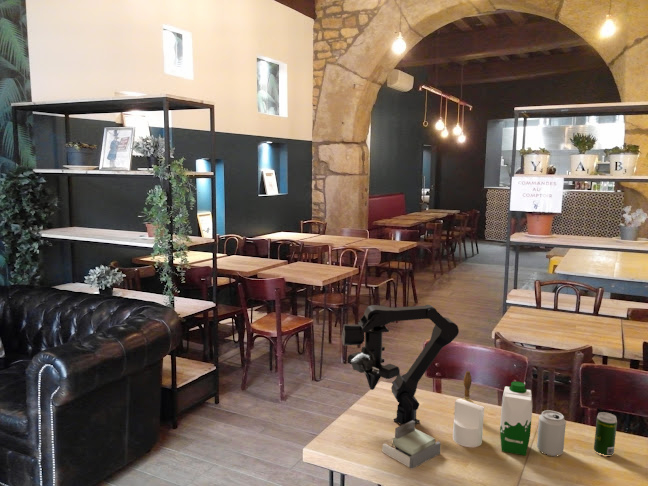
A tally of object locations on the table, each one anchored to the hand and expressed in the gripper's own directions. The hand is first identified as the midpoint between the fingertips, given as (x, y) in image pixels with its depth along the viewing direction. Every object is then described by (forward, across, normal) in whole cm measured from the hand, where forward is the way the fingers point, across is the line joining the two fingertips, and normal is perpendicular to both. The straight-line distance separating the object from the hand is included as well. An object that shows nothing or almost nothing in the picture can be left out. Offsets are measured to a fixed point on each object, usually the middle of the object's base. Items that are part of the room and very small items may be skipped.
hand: (372, 389), depth 175 cm
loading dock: (+12, +20, -4) cm, 24 cm away
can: (+12, +47, +29) cm, 57 cm away
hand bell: (+12, +17, +30) cm, 37 cm away
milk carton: (+12, +39, +22) cm, 47 cm away
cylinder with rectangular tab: (+12, +27, +16) cm, 34 cm away
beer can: (+12, +58, +41) cm, 73 cm away
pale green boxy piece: (+10, +21, -4) cm, 24 cm away
